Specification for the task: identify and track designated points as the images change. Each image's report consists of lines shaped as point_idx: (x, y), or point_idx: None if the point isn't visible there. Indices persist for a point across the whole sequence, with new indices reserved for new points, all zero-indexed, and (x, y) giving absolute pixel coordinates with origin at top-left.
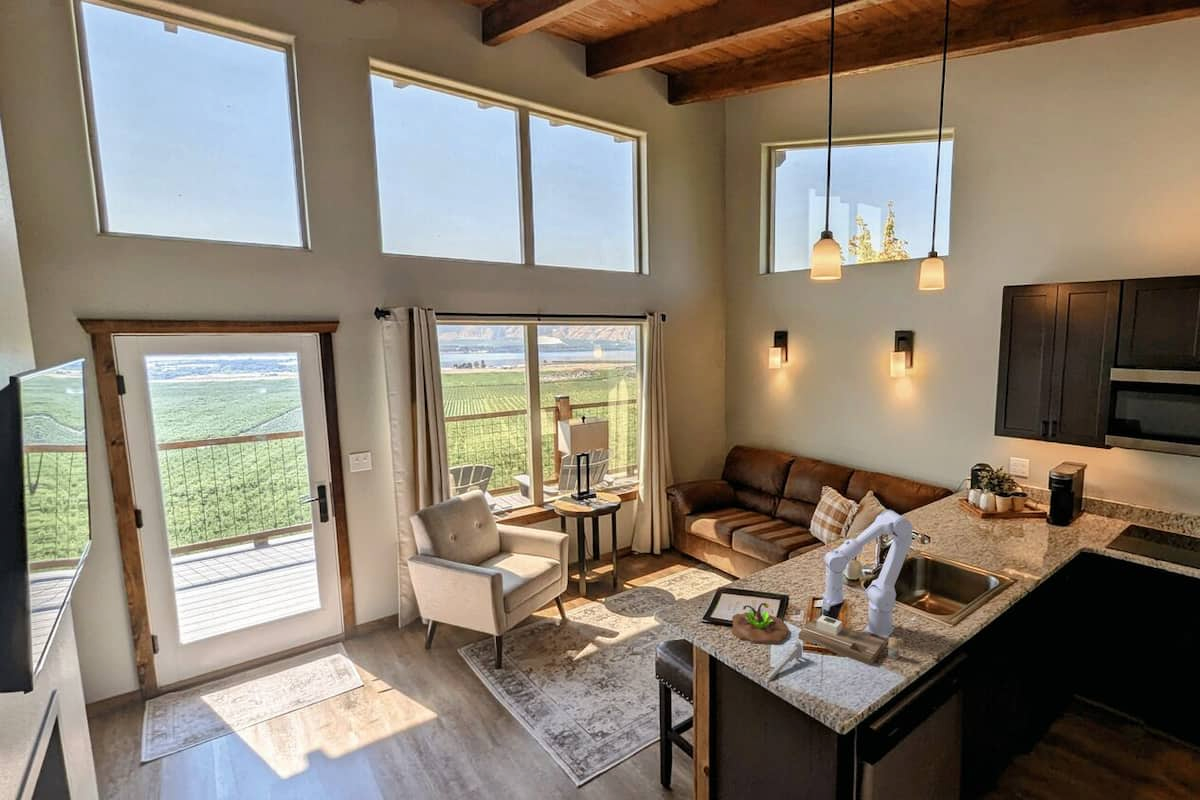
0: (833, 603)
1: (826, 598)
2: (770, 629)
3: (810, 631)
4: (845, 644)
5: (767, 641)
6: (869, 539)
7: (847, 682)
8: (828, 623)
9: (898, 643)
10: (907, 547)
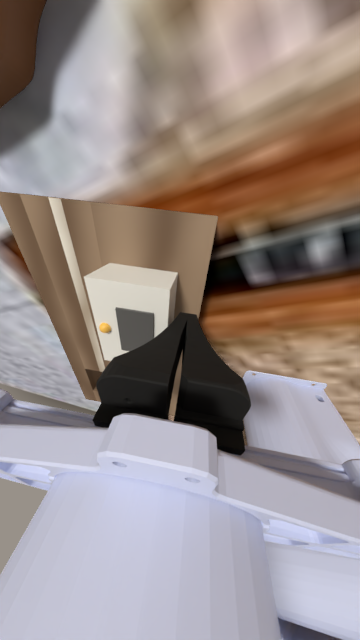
0: (34, 486)
1: (58, 473)
2: None
3: (62, 245)
4: (93, 360)
5: None
6: None
7: (10, 358)
8: (105, 332)
9: None
10: None
